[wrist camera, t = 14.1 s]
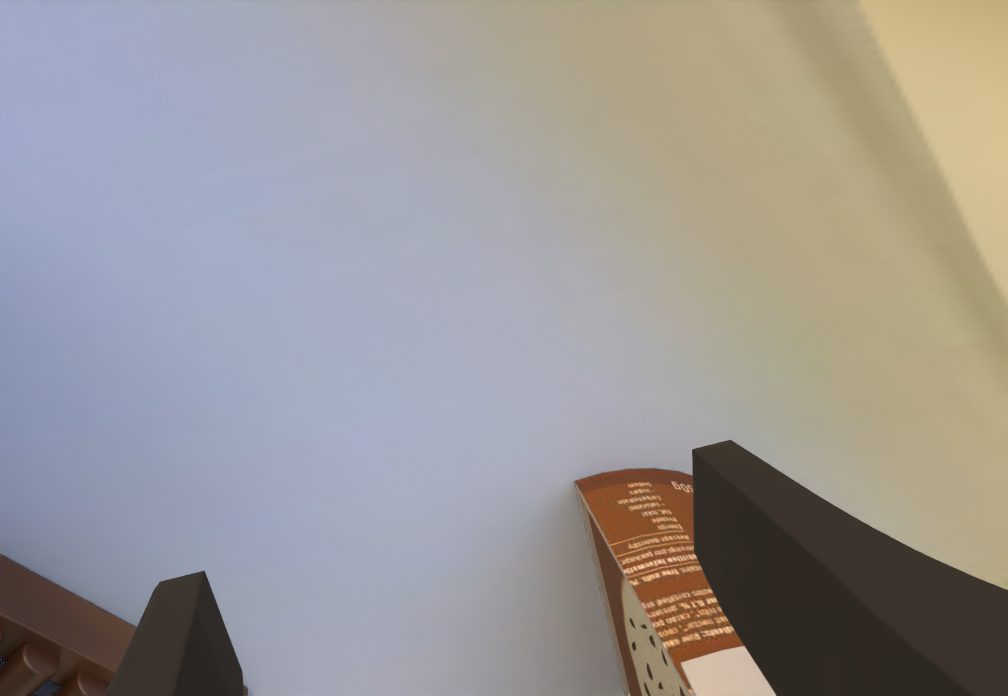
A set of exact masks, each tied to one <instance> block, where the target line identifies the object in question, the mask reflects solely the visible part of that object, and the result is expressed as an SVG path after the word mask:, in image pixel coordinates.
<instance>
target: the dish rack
mask: <svg viewBox="0 0 1008 696" xmlns="http://www.w3.org/2000/svg"><path fill="white" fill-rule="evenodd" d="M136 629H137V628H136V627H134V626H133V625H131V624H129V623H127V622H125V621H123V620H121V619H120V618H118V617H116V616H114V615H112V614H110V613H108V612H107V611H105V610H103V609H101V608H99V607H97V606H95V605H94V604H92V603H90V602H88V601H86V600H84V599H82V598H81V597H79V596H77V595H75V594H73V593H71V592H69V591H68V590H66V589H64V588H62V587H60V586H58V585H56V584H54V583H53V582H51V581H49V580H47V579H45V578H43V577H41V576H40V575H38V574H36V573H34V572H32V571H30V570H28V569H27V568H25V567H23V566H21V565H19V564H17V563H15V562H14V561H12V560H10V559H8V558H6V557H4V556H2V555H1V554H0V658H2V659H4V660H6V661H5V662H4V663H3V664H2V665H1V666H0V696H30V695H32V694H33V693H34V692H35V691H36V690H37V689H38V688H39V687H41V686H42V685H43V684H44V683H45V682H46V681H47V680H48V681H50V682H52V683H54V684H56V685H58V686H61V687H59V688H58V689H57V690H56V691H55V692H54V693H53V694H52V695H50V696H103V695H104V693H105V691H106V690H107V688H108V686H109V684H110V682H111V680H112V678H113V676H114V674H115V672H116V670H117V668H118V666H119V664H120V662H121V660H122V658H123V656H124V654H125V652H126V650H127V648H128V646H129V644H130V642H131V640H132V638H133V635H134V633H135V631H136ZM243 687H244V696H248V689H247V687H246V686H244V685H243Z"/></svg>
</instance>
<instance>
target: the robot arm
mask: <svg viewBox="0 0 1008 696" xmlns="http://www.w3.org/2000/svg"><path fill="white" fill-rule="evenodd" d="M692 458H693V526H694V553H695V555H696V557H697V559H698V562H699V564H700V566H701V568H702V570H703V573H704V575H705V577H706V579H707V581H708V583H709V585H710V587H711V589H712V592H713V594H714V596H715V598H716V600H717V602H718V604H719V606H720V608H721V610H722V611H723V613H724V615H725V616H726V618H727V619H728V621H729V623H730V624H731V626H732V627H733V629H734V631H735V632H736V634H737V635H738V637H739V638H740V640H741V642H742V643H743V645H744V646H745V648H746V649H747V651H748V652H749V654H750V656H751V657H752V659H753V660H754V662H755V663H756V665H757V666H758V668H759V669H760V671H761V673H762V674H763V676H764V677H765V679H766V680H767V682H768V683H769V685H770V686H771V688H772V690H773V691H774V693H775V694H776V696H1008V590H1006V589H1003V588H1001V587H998V586H996V585H993V584H991V583H988V582H986V581H983V580H981V579H978V578H976V577H974V576H971V575H969V574H967V573H965V572H962V571H960V570H958V569H956V568H953V567H951V566H949V565H947V564H944V563H942V562H940V561H938V560H935V559H933V558H931V557H929V556H927V555H925V554H923V553H921V552H919V551H916V550H914V549H912V548H910V547H908V546H906V545H905V544H903V543H901V542H899V541H897V540H895V539H893V538H891V537H889V536H888V535H886V534H884V533H882V532H880V531H878V530H876V529H874V528H872V527H871V526H869V525H867V524H865V523H864V522H862V521H860V520H858V519H856V518H855V517H853V516H851V515H849V514H848V513H846V512H844V511H843V510H841V509H839V508H838V507H836V506H834V505H832V504H831V503H829V502H828V501H826V500H824V499H823V498H821V497H819V496H818V495H816V494H814V493H813V492H811V491H810V490H808V489H806V488H805V487H803V486H802V485H800V484H798V483H797V482H795V481H794V480H792V479H791V478H789V477H788V476H786V475H784V474H783V473H781V472H780V471H778V470H777V469H775V468H774V467H772V466H770V465H769V464H767V463H766V462H764V461H763V460H761V459H760V458H758V457H757V456H755V455H754V454H752V453H750V452H749V451H747V450H746V449H744V448H743V447H741V446H739V445H738V444H736V443H735V442H733V441H731V440H728V441H724V442H720V443H716V444H712V445H708V446H704V447H700V448H696V449H692ZM103 696H244V687H243V676H242V670H241V667H240V665H239V662H238V659H237V657H236V654H235V651H234V648H233V646H232V643H231V640H230V638H229V635H228V632H227V630H226V627H225V624H224V622H223V619H222V616H221V614H220V611H219V608H218V606H217V603H216V600H215V598H214V595H213V592H212V590H211V587H210V584H209V581H208V579H207V576H206V573H205V571H202V572H198V573H194V574H190V575H185V576H181V577H177V578H173V579H169V580H165V581H161V582H159V584H158V585H157V587H156V588H155V589H154V591H153V593H152V596H151V598H150V600H149V602H148V605H147V607H146V609H145V611H144V614H143V616H142V618H141V620H140V622H139V625H138V627H137V629H136V631H135V633H134V635H133V638H132V640H131V642H130V644H129V646H128V648H127V650H126V652H125V654H124V656H123V658H122V660H121V662H120V664H119V666H118V668H117V670H116V672H115V674H114V676H113V678H112V680H111V682H110V684H109V686H108V688H107V690H106V691H105V693H104V695H103Z"/></svg>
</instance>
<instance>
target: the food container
mask: <svg viewBox="0 0 1008 696" xmlns="http://www.w3.org/2000/svg"><path fill="white" fill-rule="evenodd" d="M574 482H575V486H576V490H577V495H578V499H579V503H580V507H581V511H582V516H583V520H584V524H585V528H586V532H587V537H588V541H589V545H590V549H591V553H592V558H593V562H594V566H595V570H596V574H597V579H598V583H599V587H600V591H601V595H602V600H603V604H604V608H605V612H606V616H607V620H608V625H609V629H610V633H611V637H612V641H613V646H614V650H615V654H616V658H617V662H618V667H619V671H620V675H621V679H622V683H623V688H624V692H625V695H626V696H776V694H775V693H774V691H773V690H772V688H771V686H770V685H769V683H768V682H767V680H766V679H765V677H764V676H763V674H762V673H761V671H760V669H759V668H758V666H757V665H756V663H755V662H754V660H753V659H752V657H751V656H750V654H749V652H748V651H747V649H746V648H745V646H744V645H743V643H742V642H741V640H740V638H739V637H738V635H737V634H736V632H735V631H734V629H733V627H732V626H731V624H730V623H729V621H728V619H727V618H726V616H725V615H724V613H723V611H722V610H721V608H720V606H719V604H718V602H717V600H716V598H715V596H714V594H713V592H712V589H711V587H710V585H709V583H708V581H707V579H706V577H705V575H704V573H703V570H702V568H701V566H700V564H699V562H698V559H697V557H696V555H695V553H694V526H693V476H692V475H688V474H685V473H681V472H678V471H671V470H662V469H654V468H651V469H625V470H619V471H612V472H606V473H601V474H597V475H594V476H590V477H587V478H583V479H580V480H576V481H574Z"/></svg>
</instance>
